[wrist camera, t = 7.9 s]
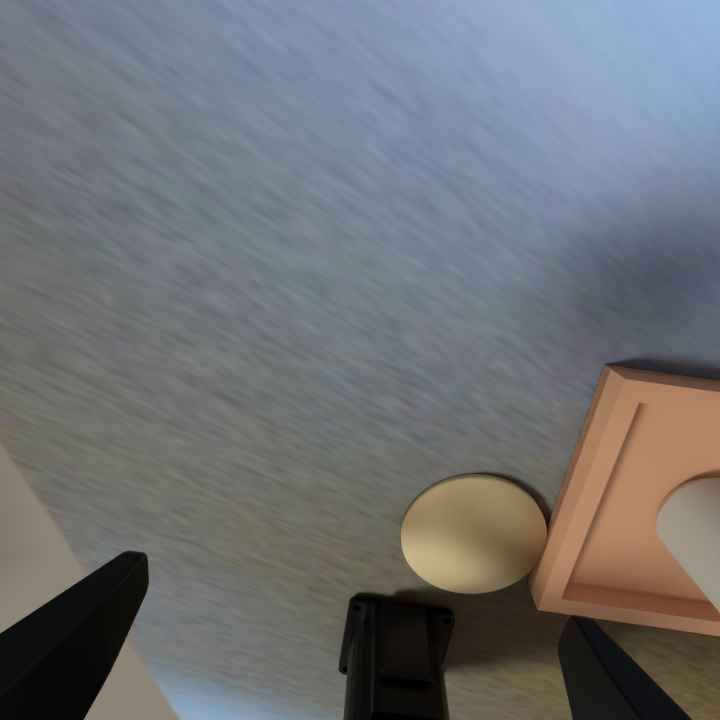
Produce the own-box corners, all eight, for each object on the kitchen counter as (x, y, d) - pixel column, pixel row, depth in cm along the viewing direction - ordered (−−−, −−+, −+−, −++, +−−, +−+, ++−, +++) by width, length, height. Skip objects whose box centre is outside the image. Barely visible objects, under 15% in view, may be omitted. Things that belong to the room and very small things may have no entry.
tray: (762, 616, 25) (789, 646, 24) (527, 582, 25) (537, 609, 24) (896, 405, 20) (942, 423, 19) (604, 364, 20) (624, 378, 19)
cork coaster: (522, 595, 26) (525, 602, 25) (391, 576, 26) (391, 583, 25) (562, 485, 23) (565, 491, 22) (414, 464, 23) (414, 469, 22)
